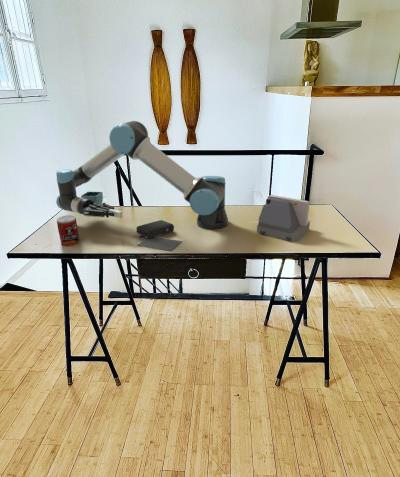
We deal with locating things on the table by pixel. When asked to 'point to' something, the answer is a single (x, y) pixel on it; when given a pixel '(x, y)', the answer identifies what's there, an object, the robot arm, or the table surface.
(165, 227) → the card reader
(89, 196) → the flower pot
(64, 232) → the canned food
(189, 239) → the table surface
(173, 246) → the mat
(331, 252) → the table surface
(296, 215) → the grey tapered box
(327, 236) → the table surface
